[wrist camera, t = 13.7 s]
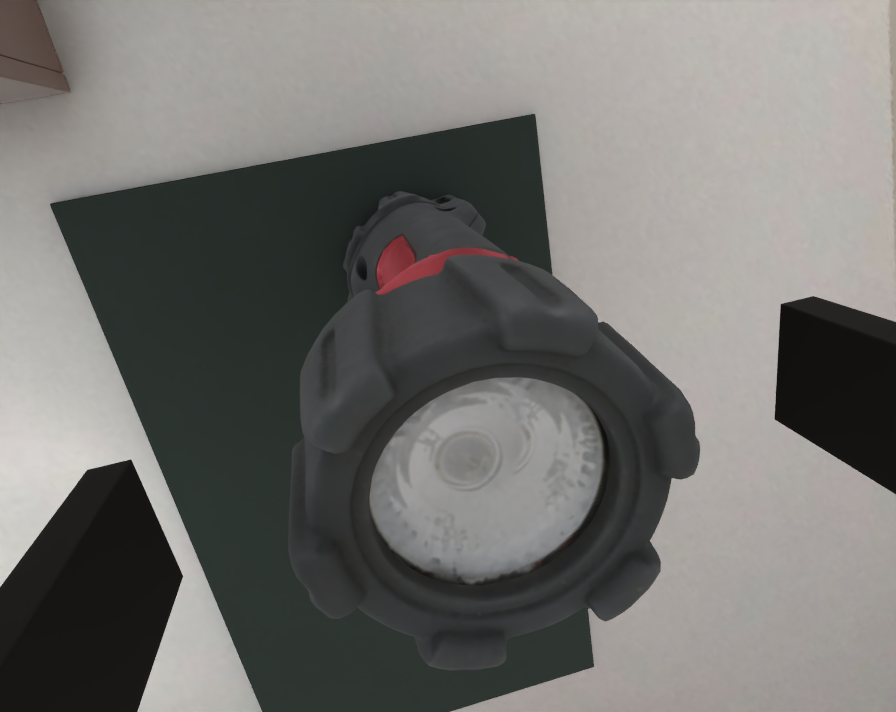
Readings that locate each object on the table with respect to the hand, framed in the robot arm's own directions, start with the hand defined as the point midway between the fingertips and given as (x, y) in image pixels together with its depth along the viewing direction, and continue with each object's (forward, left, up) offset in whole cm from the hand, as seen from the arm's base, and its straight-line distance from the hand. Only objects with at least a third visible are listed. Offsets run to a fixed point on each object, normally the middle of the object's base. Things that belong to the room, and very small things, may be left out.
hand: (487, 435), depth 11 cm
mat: (+3, +14, -21) cm, 26 cm away
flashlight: (0, 0, -21) cm, 21 cm away
